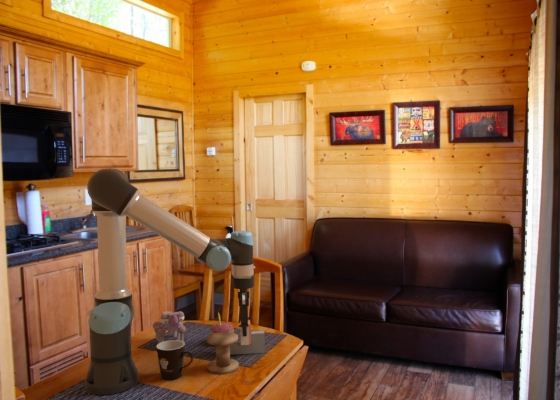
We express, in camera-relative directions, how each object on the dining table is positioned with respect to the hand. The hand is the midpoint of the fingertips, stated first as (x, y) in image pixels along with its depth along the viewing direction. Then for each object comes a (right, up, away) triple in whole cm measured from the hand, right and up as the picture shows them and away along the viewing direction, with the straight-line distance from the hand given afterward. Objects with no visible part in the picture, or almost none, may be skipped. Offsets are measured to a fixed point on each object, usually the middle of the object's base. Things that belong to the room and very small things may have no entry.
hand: (244, 341), depth 170 cm
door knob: (-6, -5, -12) cm, 15 cm away
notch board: (0, -4, 0) cm, 4 cm away
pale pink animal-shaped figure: (-27, -4, +8) cm, 29 cm away
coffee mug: (-21, -6, -19) cm, 29 cm away
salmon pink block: (0, 0, 0) cm, 1 cm away
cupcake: (-9, -3, +11) cm, 14 cm away
